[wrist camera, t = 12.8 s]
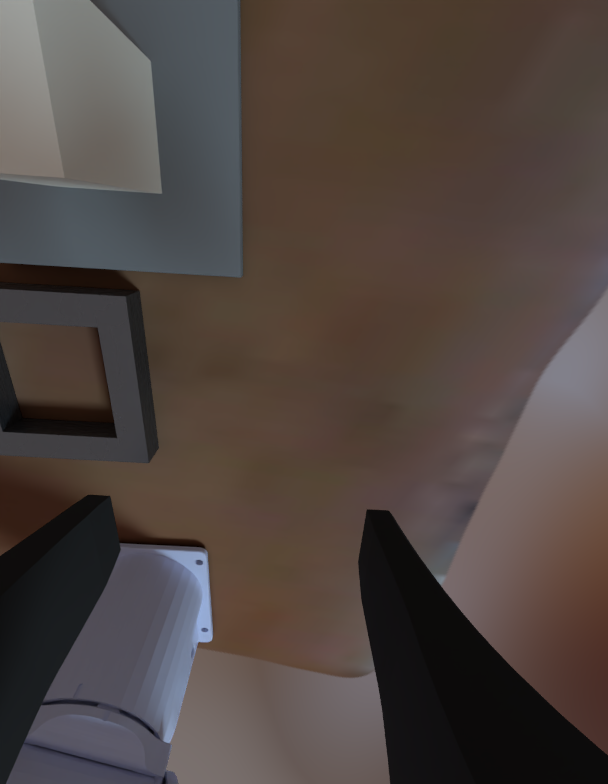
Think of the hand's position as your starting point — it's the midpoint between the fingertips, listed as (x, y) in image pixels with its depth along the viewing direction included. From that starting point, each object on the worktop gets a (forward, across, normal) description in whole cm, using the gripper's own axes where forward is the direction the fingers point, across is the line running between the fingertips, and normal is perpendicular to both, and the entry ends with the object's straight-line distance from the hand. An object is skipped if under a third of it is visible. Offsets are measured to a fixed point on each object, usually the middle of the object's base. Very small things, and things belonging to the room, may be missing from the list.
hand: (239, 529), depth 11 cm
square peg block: (+10, +7, -11) cm, 16 cm away
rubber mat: (+10, +7, -11) cm, 17 cm away
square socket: (+10, +11, 0) cm, 15 cm away
